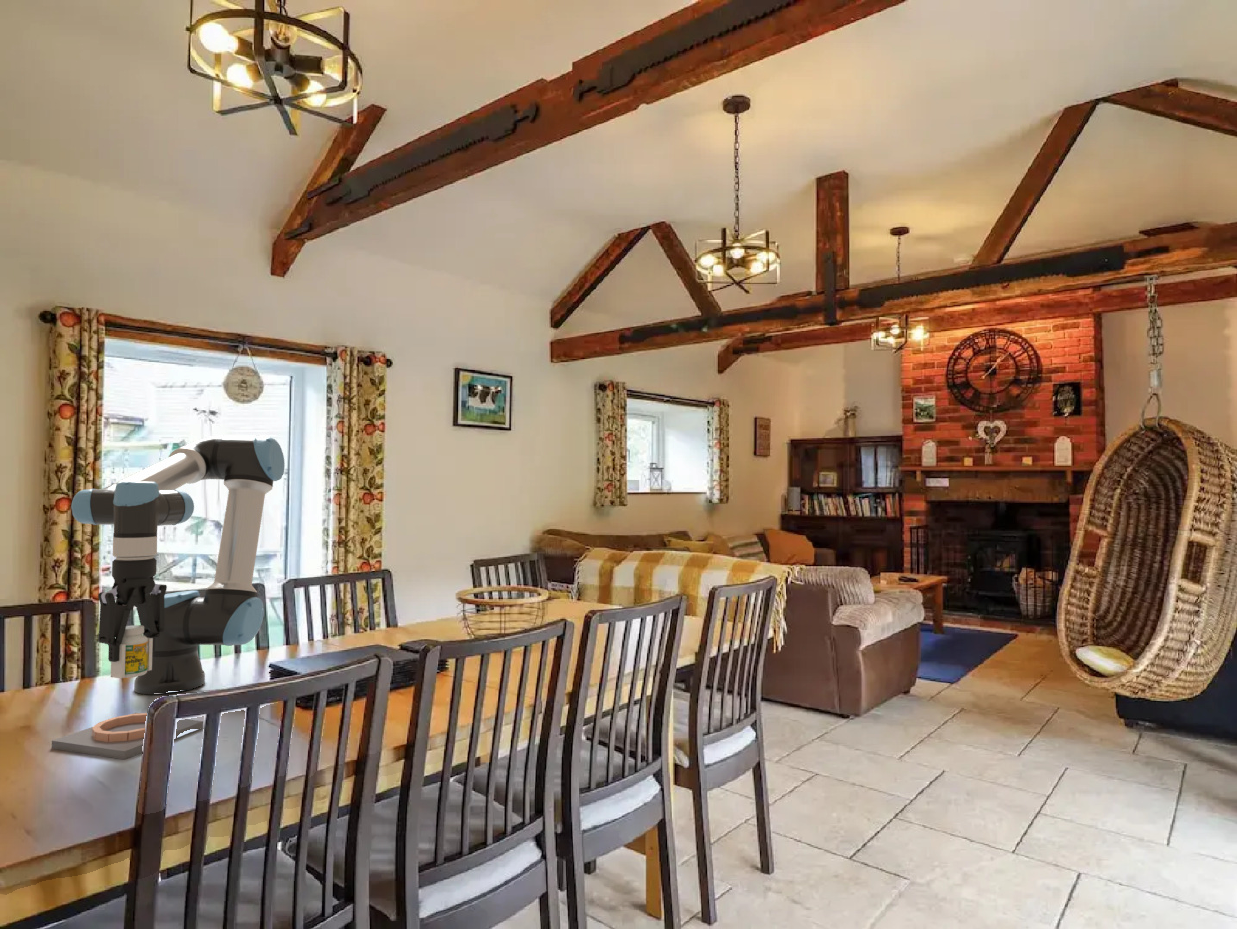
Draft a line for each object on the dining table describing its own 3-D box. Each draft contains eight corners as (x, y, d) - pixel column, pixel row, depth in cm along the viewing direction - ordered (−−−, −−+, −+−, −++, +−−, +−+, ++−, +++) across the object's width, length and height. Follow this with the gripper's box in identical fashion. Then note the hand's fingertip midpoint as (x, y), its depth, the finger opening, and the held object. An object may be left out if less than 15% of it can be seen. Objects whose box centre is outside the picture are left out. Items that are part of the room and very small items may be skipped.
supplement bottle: (146, 670, 154) (148, 623, 154) (147, 676, 149) (148, 627, 149) (115, 673, 151) (116, 625, 151) (115, 679, 146) (116, 630, 146)
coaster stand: (135, 719, 161) (135, 705, 161) (202, 728, 156) (203, 713, 156) (51, 748, 144) (52, 732, 144) (124, 759, 139) (125, 743, 139)
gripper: (159, 552, 160) (156, 661, 160) (76, 561, 143) (72, 683, 142) (187, 554, 158) (184, 664, 158) (106, 563, 141) (103, 687, 140)
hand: (131, 673), depth 150 cm, fingers closed on supplement bottle, 5 cm apart
